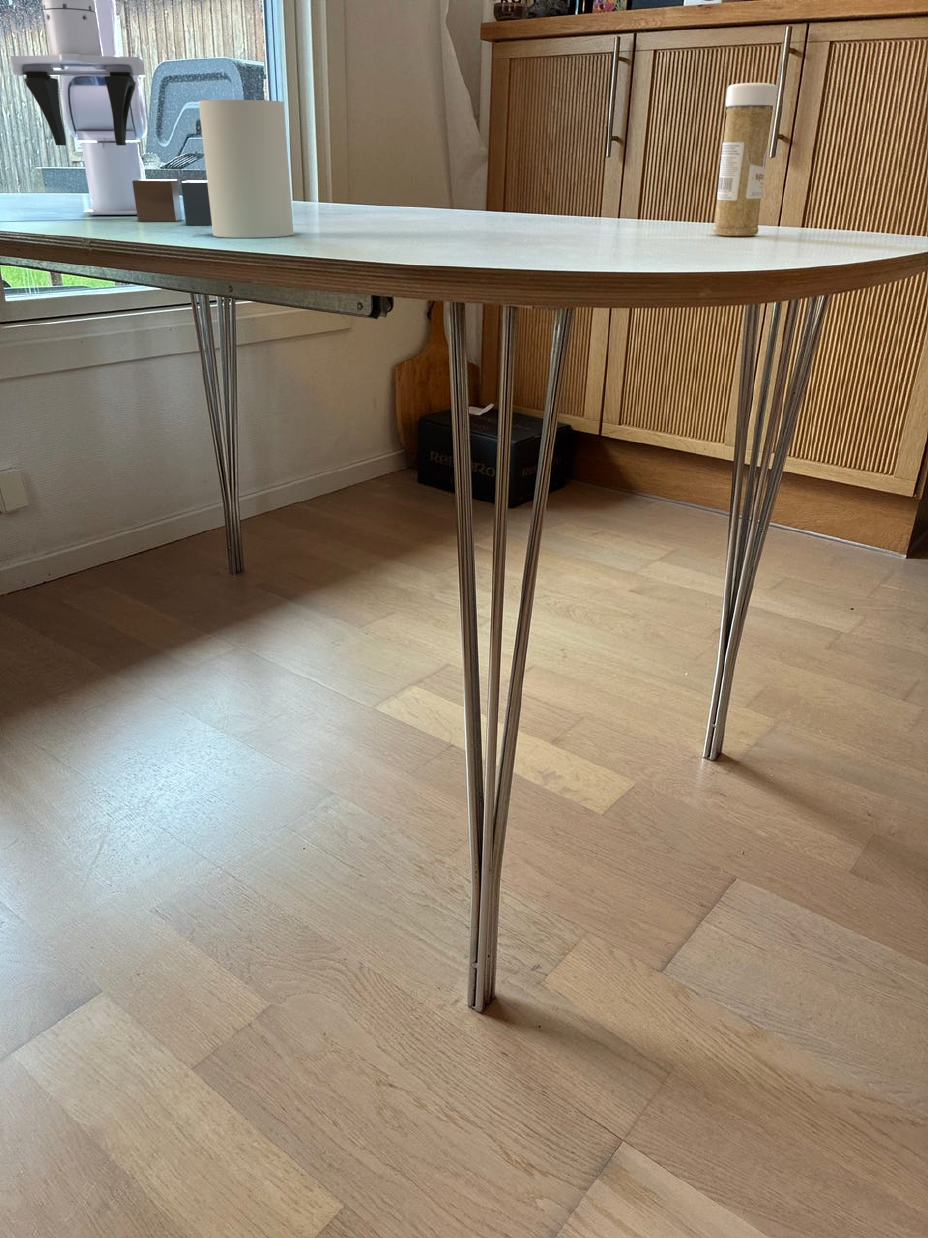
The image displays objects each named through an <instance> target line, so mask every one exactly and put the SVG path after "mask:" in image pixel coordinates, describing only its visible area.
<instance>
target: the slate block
mask: <svg viewBox="0 0 928 1238" xmlns="http://www.w3.org/2000/svg"><path fill="white" fill-rule="evenodd" d="M180 187H181V195H182V204H183V211H184V213H183V214H184V220H185V226H212V220H211V210H210V201H209V192H208V183H207V180H185V181H181V182H180Z"/></svg>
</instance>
